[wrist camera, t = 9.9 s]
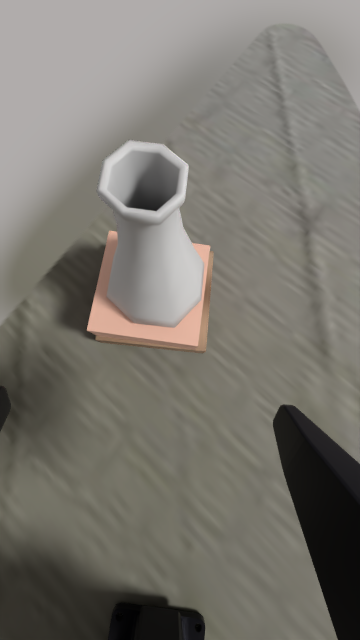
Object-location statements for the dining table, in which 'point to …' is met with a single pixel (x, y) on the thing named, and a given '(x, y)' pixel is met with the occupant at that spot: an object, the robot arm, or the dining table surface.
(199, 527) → the dining table surface
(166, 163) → the flask
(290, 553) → the dining table surface
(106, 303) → the terracotta slab
